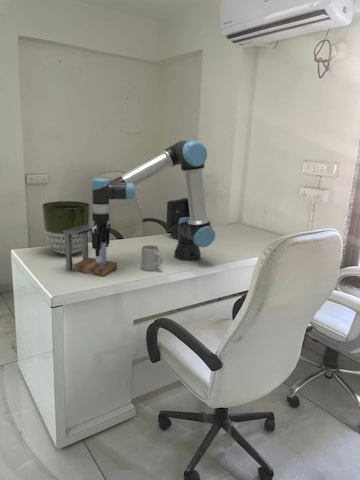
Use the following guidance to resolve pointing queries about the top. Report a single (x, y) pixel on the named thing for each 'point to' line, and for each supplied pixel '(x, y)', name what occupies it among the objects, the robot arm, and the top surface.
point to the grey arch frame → (68, 242)
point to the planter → (64, 223)
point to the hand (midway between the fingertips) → (101, 260)
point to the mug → (150, 258)
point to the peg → (102, 255)
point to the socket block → (95, 267)
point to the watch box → (176, 214)
